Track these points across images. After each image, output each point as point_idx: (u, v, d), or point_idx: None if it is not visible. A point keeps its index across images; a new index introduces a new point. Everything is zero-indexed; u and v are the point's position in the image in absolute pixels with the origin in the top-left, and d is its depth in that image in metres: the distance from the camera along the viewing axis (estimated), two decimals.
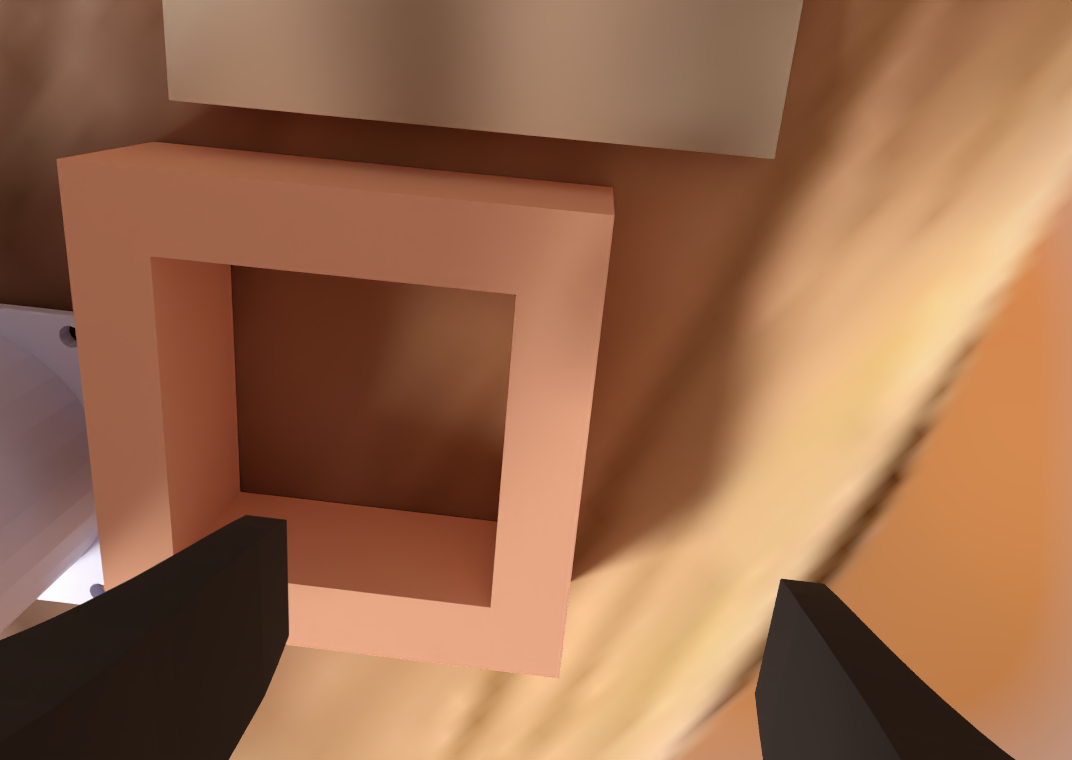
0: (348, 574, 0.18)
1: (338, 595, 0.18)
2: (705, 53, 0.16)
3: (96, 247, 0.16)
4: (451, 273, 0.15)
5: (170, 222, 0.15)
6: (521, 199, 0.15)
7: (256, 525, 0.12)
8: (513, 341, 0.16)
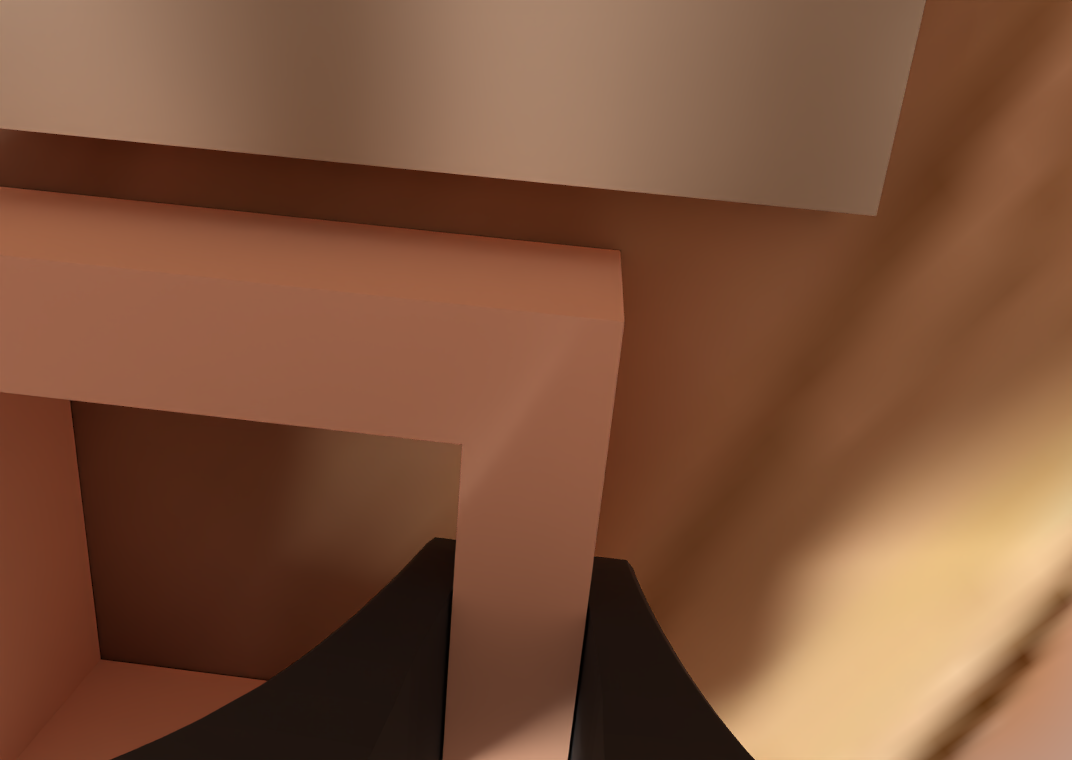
0: None
1: None
2: (771, 48, 0.10)
3: None
4: (355, 410, 0.09)
5: None
6: (471, 287, 0.09)
7: (453, 548, 0.12)
8: (459, 515, 0.10)
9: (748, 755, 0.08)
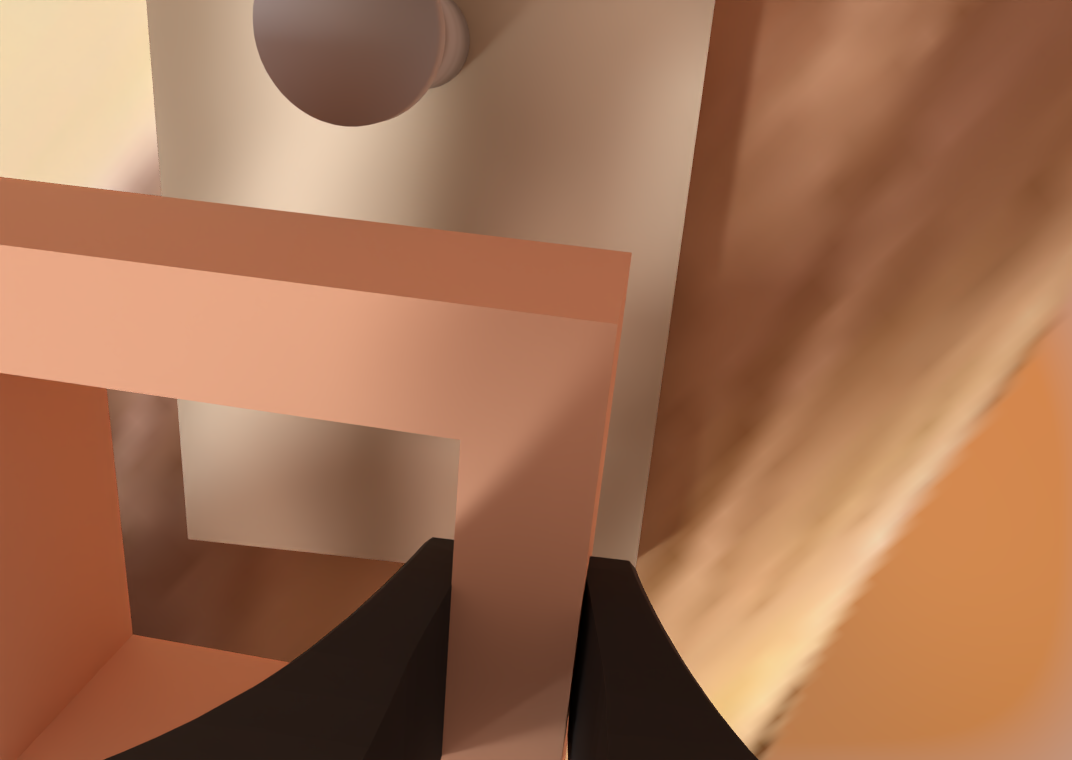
0: None
1: None
2: None
3: None
4: (359, 403, 0.10)
5: None
6: (474, 286, 0.10)
7: (450, 548, 0.12)
8: (458, 508, 0.10)
9: (752, 756, 0.08)
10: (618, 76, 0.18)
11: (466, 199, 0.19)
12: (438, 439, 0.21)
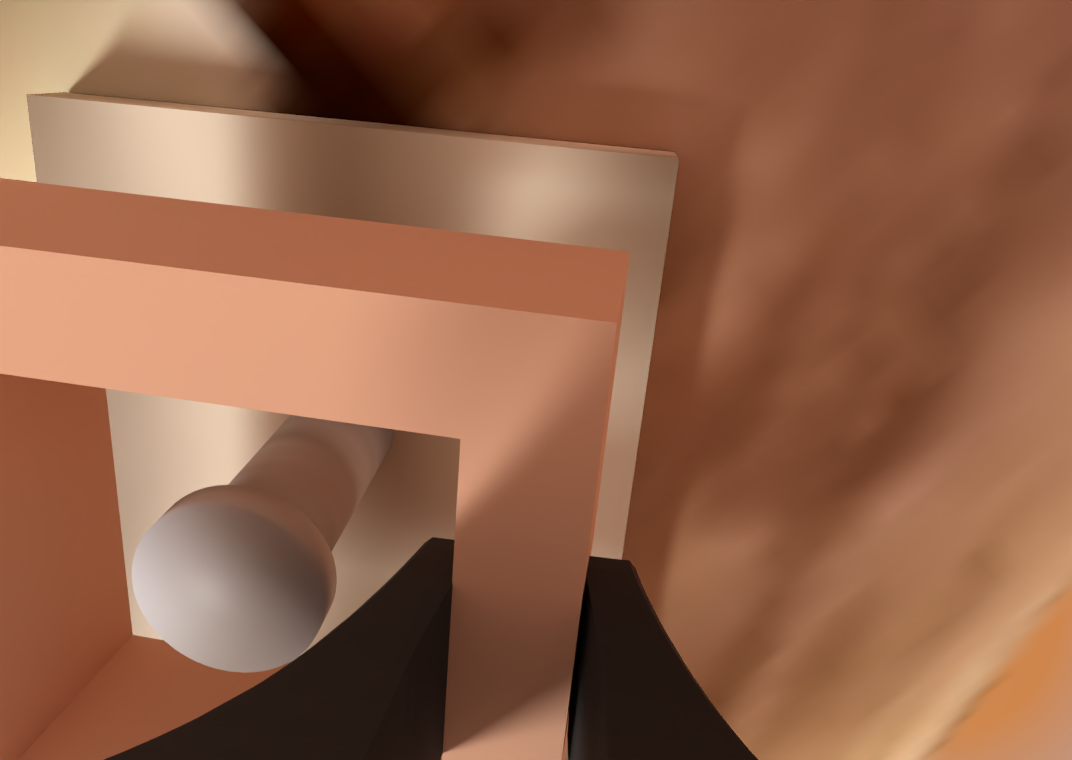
0: None
1: None
2: None
3: None
4: (359, 403, 0.10)
5: None
6: (473, 286, 0.10)
7: (450, 548, 0.12)
8: (458, 507, 0.10)
9: (752, 755, 0.08)
10: None
11: (392, 569, 0.19)
12: None
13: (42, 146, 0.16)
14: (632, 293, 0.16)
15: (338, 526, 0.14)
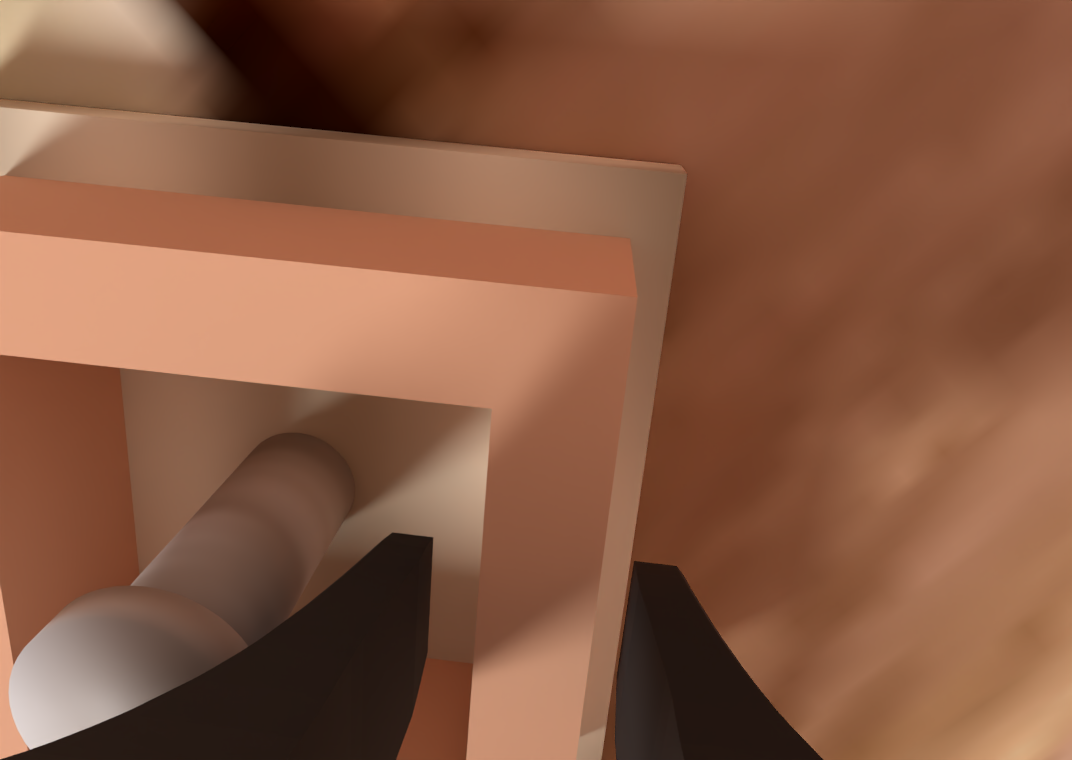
0: None
1: None
2: None
3: None
4: (397, 378, 0.10)
5: None
6: (500, 268, 0.11)
7: (408, 543, 0.12)
8: (488, 473, 0.11)
9: None
10: None
11: None
12: None
13: None
14: None
15: (277, 620, 0.12)
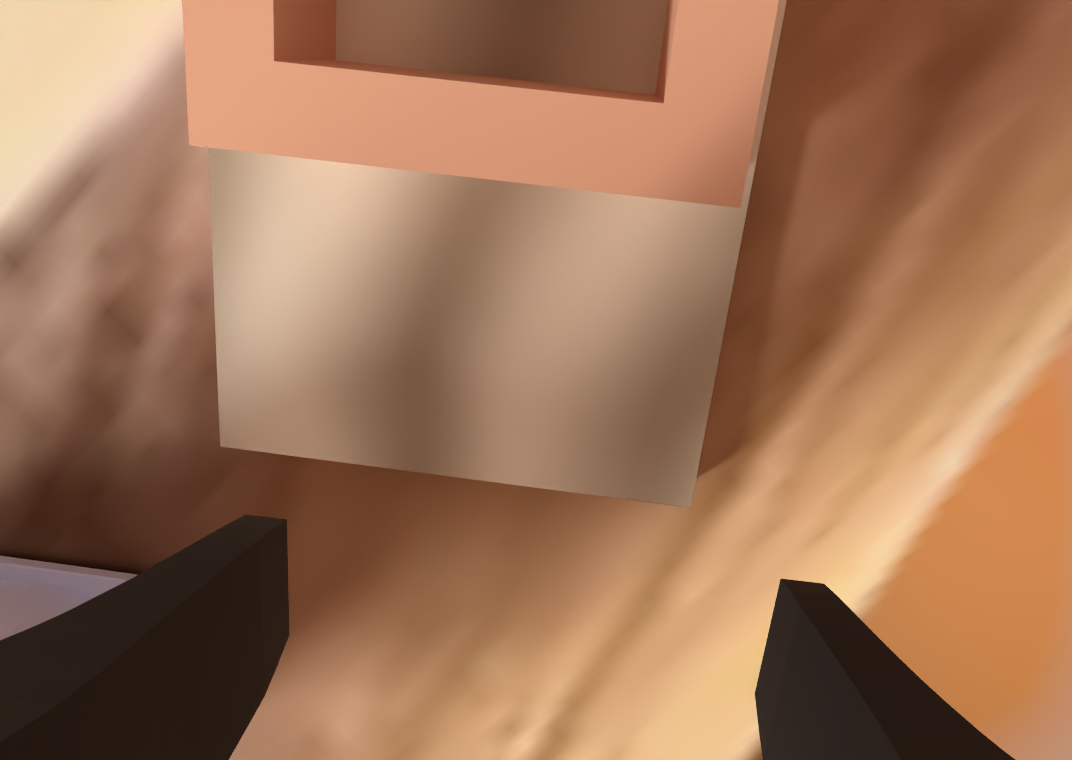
0: (483, 82, 0.15)
1: (474, 91, 0.15)
2: (636, 435, 0.21)
3: None
4: None
5: None
6: None
7: (256, 525, 0.12)
8: None
9: None
10: None
11: (532, 73, 0.18)
12: (490, 341, 0.20)
13: None
14: None
15: None
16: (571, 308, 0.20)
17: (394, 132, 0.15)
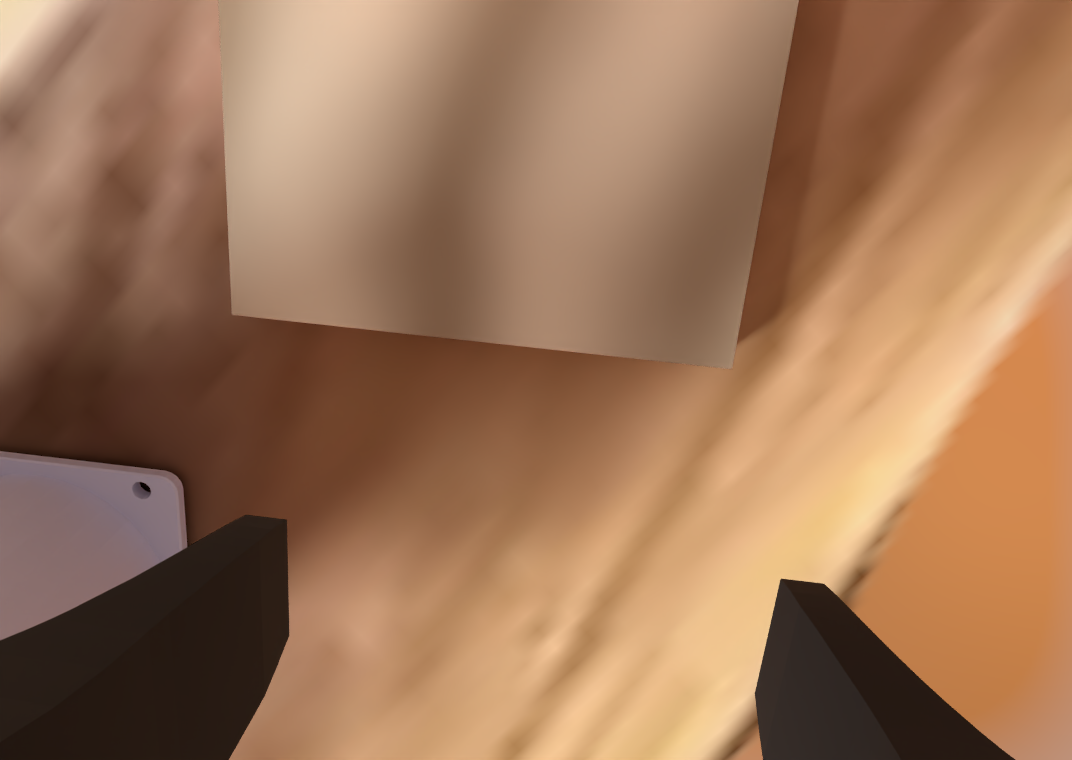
0: None
1: None
2: (674, 288, 0.19)
3: None
4: None
5: None
6: None
7: (256, 525, 0.12)
8: None
9: None
10: None
11: None
12: (519, 186, 0.19)
13: None
14: None
15: None
16: (605, 146, 0.18)
17: None
